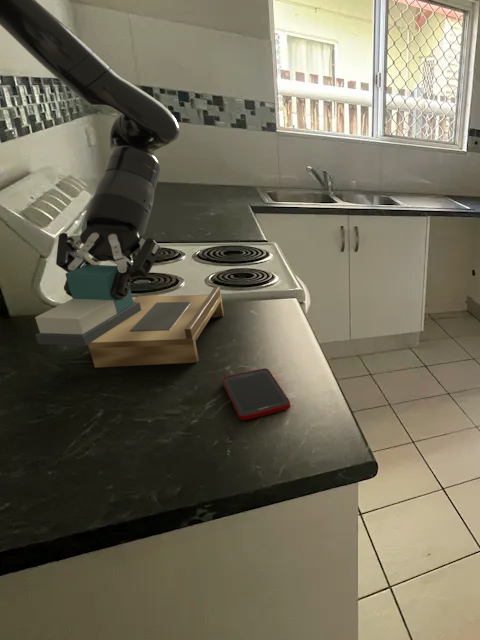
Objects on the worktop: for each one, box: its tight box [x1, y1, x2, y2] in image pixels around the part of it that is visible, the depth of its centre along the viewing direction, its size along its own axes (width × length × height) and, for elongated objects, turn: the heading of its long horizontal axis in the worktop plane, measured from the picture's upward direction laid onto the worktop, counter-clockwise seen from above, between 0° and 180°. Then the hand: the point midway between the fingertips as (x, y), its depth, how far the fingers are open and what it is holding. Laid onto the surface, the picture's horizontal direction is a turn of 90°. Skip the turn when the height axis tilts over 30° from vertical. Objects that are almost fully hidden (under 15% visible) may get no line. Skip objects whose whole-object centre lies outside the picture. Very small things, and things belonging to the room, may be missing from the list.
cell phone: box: [221, 368, 292, 421], centre depth 81 cm, size 8×15×1 cm, turn 39°
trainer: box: [34, 264, 141, 347], centre depth 72 cm, size 14×6×8 cm, turn 7°
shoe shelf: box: [87, 286, 225, 369], centre depth 96 cm, size 16×24×7 cm, turn 18°
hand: (94, 296), depth 73 cm, fingers closed on trainer, 5 cm apart
